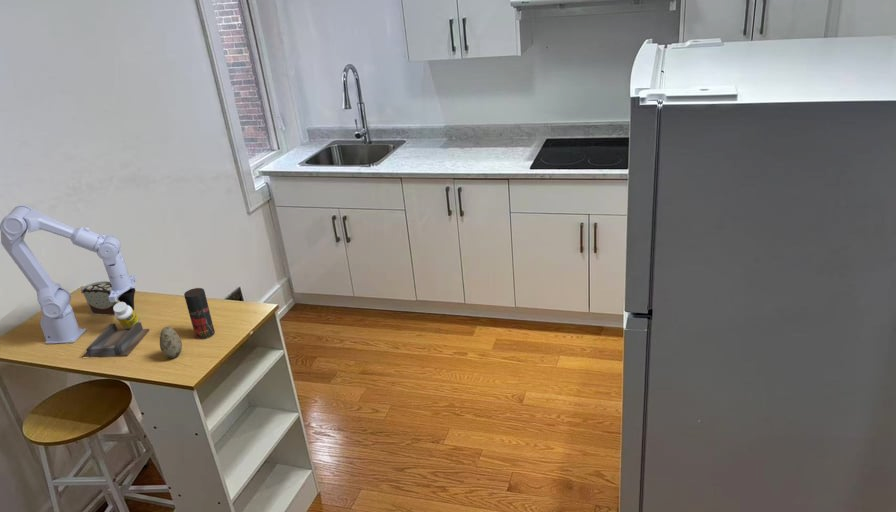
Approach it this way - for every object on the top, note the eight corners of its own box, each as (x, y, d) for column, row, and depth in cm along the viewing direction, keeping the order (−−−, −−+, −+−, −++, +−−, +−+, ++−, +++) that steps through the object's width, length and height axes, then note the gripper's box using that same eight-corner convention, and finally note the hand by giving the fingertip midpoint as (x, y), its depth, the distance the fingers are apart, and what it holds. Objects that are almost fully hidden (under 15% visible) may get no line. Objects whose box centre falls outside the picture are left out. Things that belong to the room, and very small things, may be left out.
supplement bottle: (135, 332, 214) (122, 315, 206) (120, 329, 215) (107, 312, 207) (143, 318, 217) (131, 301, 210) (128, 316, 218) (116, 298, 210)
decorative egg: (176, 348, 202) (168, 320, 198) (188, 353, 199) (180, 325, 194) (159, 358, 197) (150, 329, 193) (171, 363, 194) (163, 334, 190)
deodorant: (191, 335, 208) (180, 293, 202) (209, 327, 212) (198, 286, 206) (201, 341, 205) (189, 298, 198) (218, 333, 209) (207, 291, 202)
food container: (131, 306, 230) (123, 281, 225) (119, 315, 224) (110, 289, 220) (100, 305, 232) (92, 279, 228) (88, 313, 227) (79, 288, 223)
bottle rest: (82, 358, 201) (79, 349, 199) (107, 332, 214) (104, 323, 213) (127, 356, 200) (124, 347, 198) (149, 330, 213) (146, 322, 212)
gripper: (119, 283, 202) (132, 321, 208) (140, 262, 215) (152, 298, 221) (97, 285, 203) (110, 323, 209) (119, 264, 216) (131, 300, 222)
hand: (130, 310), depth 215 cm, fingers closed, pressing on supplement bottle
